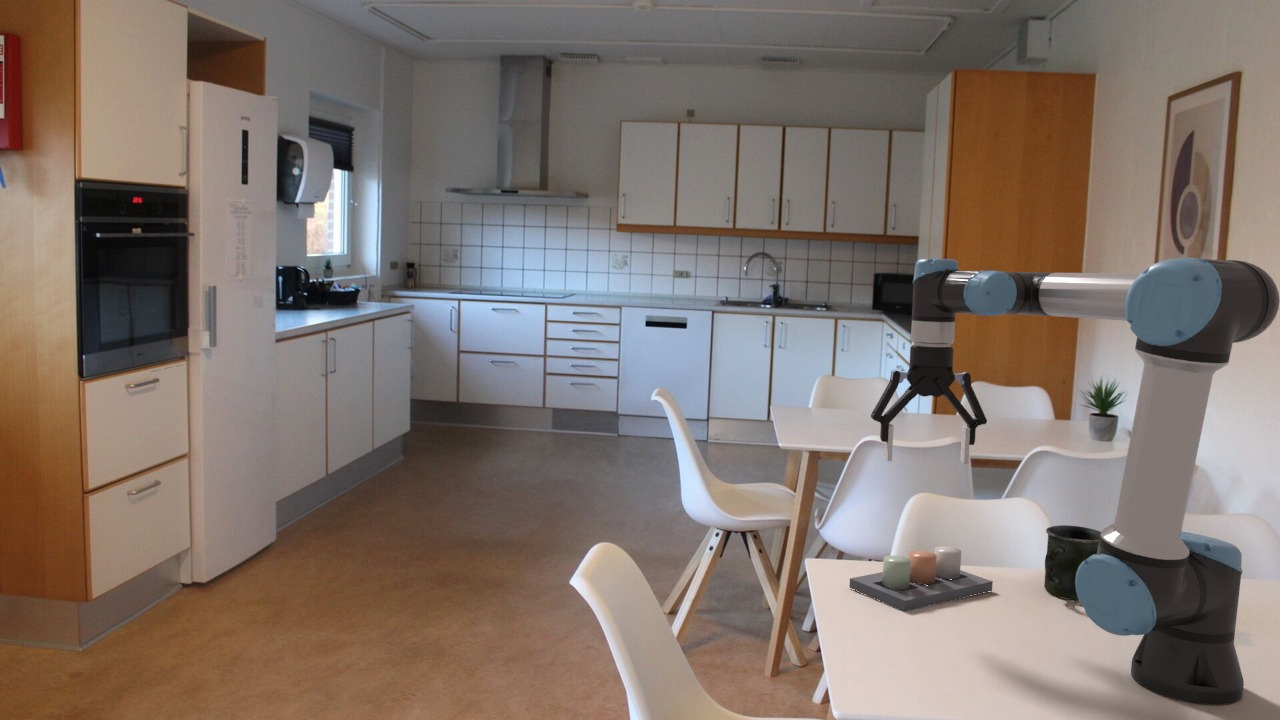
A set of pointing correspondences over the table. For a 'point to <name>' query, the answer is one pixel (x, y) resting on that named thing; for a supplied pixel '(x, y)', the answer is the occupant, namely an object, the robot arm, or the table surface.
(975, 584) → the button board
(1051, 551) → the mug
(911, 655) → the table surface
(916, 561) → the terracotta button
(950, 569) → the grey button
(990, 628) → the table surface
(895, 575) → the sage button
